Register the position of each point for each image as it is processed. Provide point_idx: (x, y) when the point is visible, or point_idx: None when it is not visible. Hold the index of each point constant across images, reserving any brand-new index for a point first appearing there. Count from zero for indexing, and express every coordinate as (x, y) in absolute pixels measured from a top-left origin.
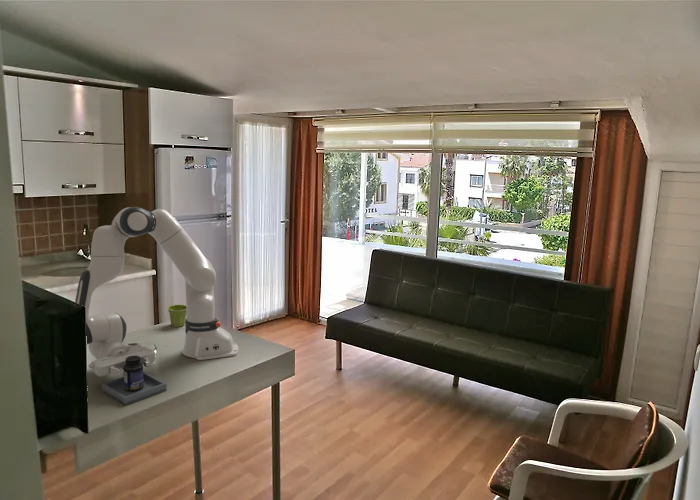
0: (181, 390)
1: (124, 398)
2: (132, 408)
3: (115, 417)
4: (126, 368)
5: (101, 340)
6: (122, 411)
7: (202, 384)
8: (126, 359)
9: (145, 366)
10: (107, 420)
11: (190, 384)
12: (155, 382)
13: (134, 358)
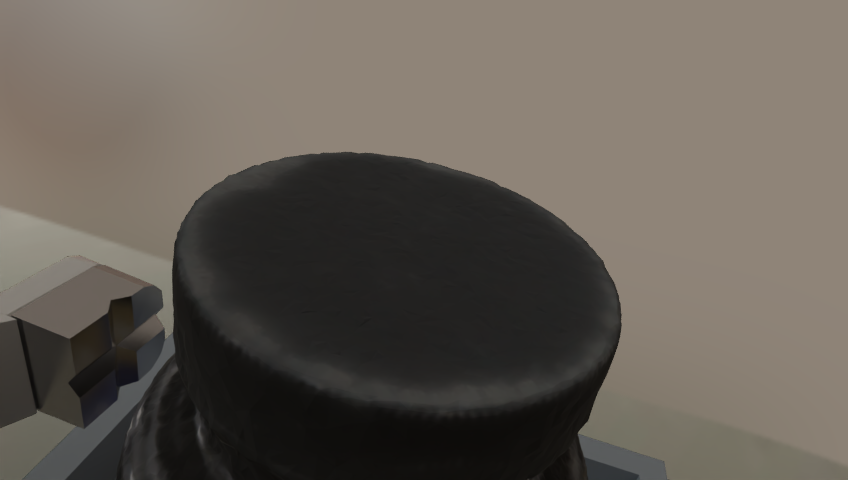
0: (170, 283)
1: (662, 471)
2: (607, 427)
3: (774, 452)
4: (579, 448)
5: None
6: (694, 464)
7: (28, 217)
8: (606, 321)
9: (144, 359)
10: (844, 474)
11: (30, 270)
12: (100, 477)
13: (407, 215)
